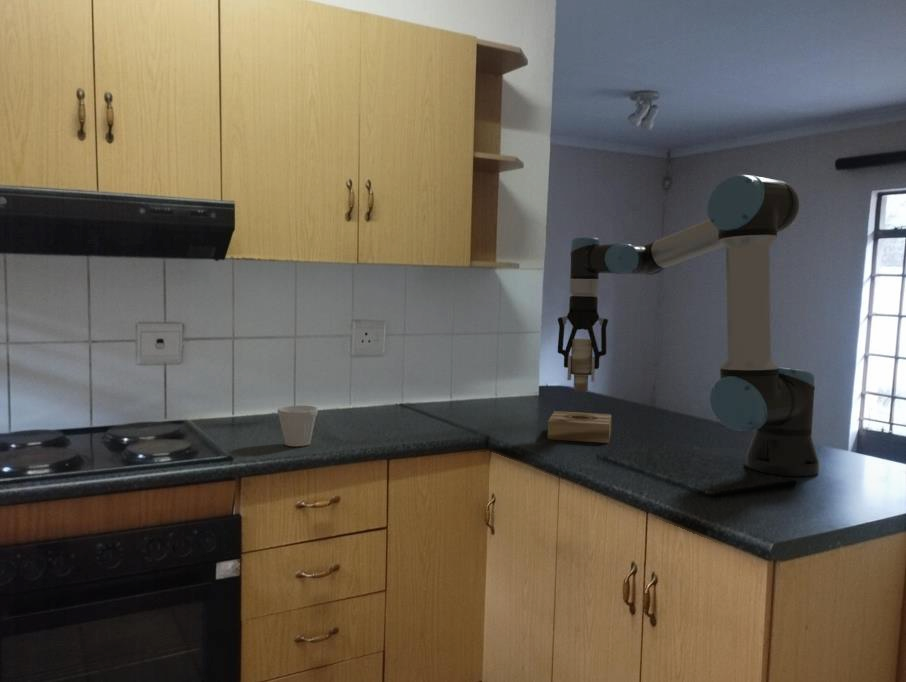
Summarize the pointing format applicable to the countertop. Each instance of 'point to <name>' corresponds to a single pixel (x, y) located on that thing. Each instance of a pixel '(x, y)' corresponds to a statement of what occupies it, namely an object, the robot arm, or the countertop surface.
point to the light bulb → (581, 363)
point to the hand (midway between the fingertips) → (580, 380)
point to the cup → (297, 424)
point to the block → (579, 426)
